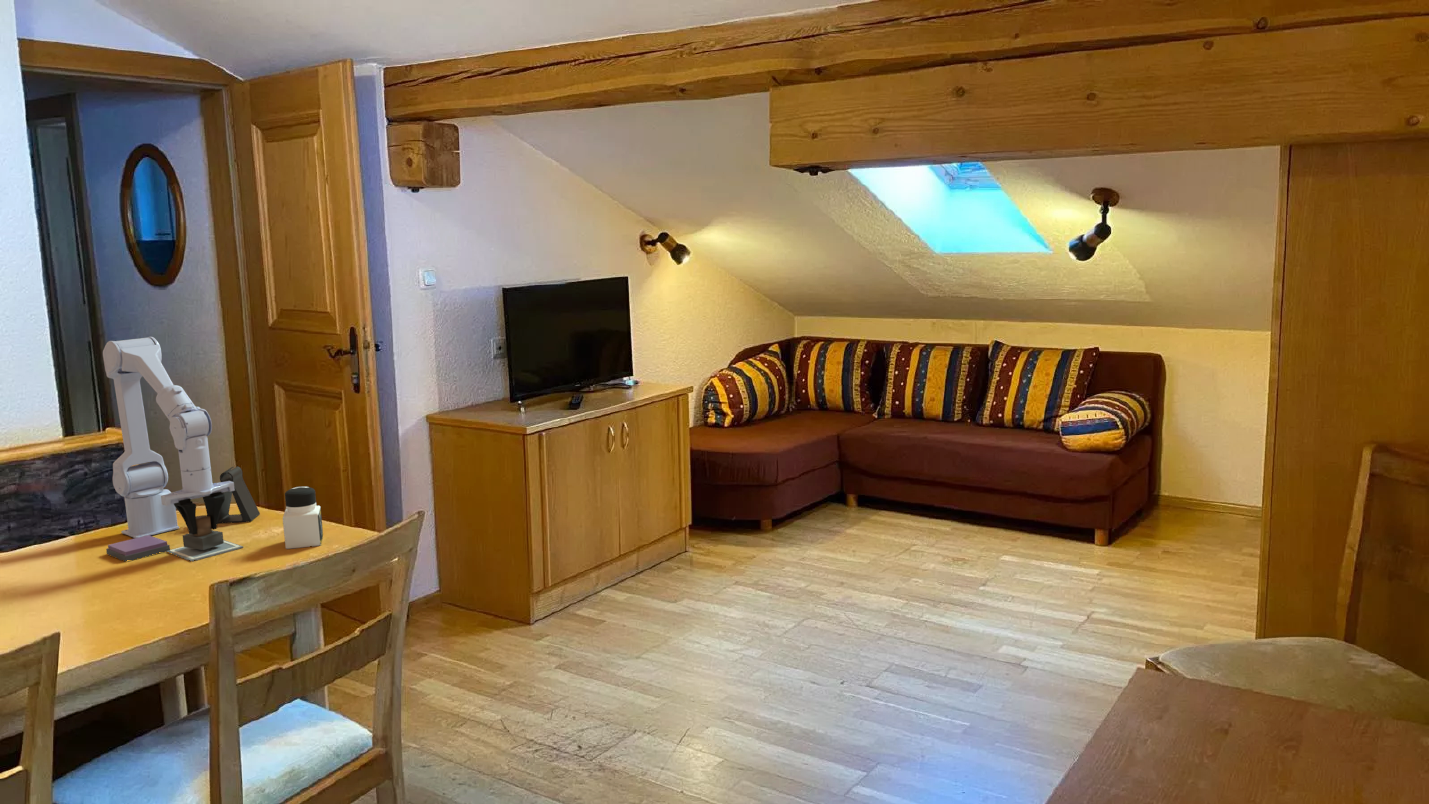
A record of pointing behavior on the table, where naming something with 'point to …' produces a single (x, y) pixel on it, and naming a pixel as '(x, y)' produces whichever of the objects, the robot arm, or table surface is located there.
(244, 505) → the dark grey triangular stand
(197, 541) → the stamp
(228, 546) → the board
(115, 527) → the table surface
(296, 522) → the medicine bottle
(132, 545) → the ink pad
